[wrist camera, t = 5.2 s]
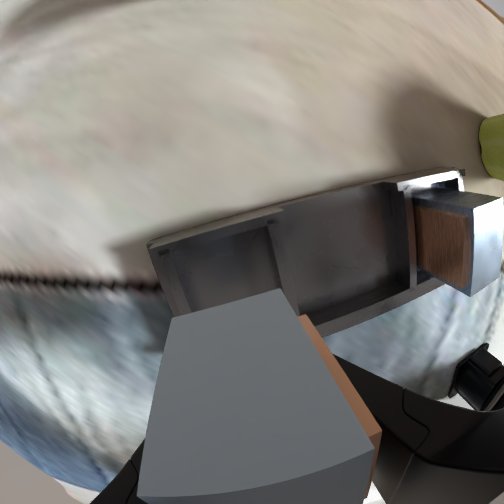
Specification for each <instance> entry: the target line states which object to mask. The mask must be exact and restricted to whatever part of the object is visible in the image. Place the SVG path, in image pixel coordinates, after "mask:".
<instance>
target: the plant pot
mask: <svg viewBox="0 0 504 504" xmlns="http://www.w3.org/2000/svg"><path fill="white" fill-rule="evenodd" d="M479 142H480V144H481V147H482V154H481V158H482V161H483V164H484V166H485V169H486V170H487V172H488V173H489V174H490V176H492V177H493V178H496V179H498V180H502V181H504V114H502V115H497V116H493V117H489V118H486V119H484V120H483V122H482V124H481V126H480V131H479Z"/></svg>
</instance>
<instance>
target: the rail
mask: <svg viewBox="0 0 504 504" xmlns="http://www.w3.org/2000/svg"><path fill="white" fill-rule="evenodd" d="M463 176H465V169H459V168H454V167H440V168H435V169H430V170H424V171H419V172H414V173H409V174H404V175H399V176H394V177H389V178H385V179H380V180H375V181H371V182H366V183H362V184H357V185H353V186H348V187H344V188H340V189H336V190H331V191H327V192H323V193H319V194H315V195H311V196H307V197H303V198H299V199H295V200H291V201H287V202H283V203H279V204H275V205H271V206H268V207H264V208H260V209H256V210H253V211H249V212H245V213H242V214H238V215H234V216H231V217H227V218H224V219H220V220H217V221H213V222H210V223H206V224H203V225H199V226H196V227H193V228H189V229H186V230H183V231H179V232H176V233H173V234H170V235H166V236H163V237H160V238H157V239H153V240H151V241H150V242H149V243H148V244H147V248H148V251H149V254H150V257H151V260H152V263H153V265H154V268H155V271H156V273H157V276H158V279H159V281H160V284H161V287H162V289H163V292H164V294H165V297H166V299H167V302H168V304H169V307H170V309H171V312H172V314H173V316H174V317H177V316H181V315H185V314H189V313H193V312H197V311H201V310H204V309H208V308H212V307H216V306H219V305H223V304H226V303H230V302H234V301H237V300H241V299H244V298H248V297H251V296H255V295H258V294H262V293H265V292H268V291H272V290H275V289H279V288H280V289H281V290H282V292H283V294H284V295H285V297H286V299H287V300H288V302H289V304H290V305H291V307H292V309H293V310H294V312H295V314H296V315H297V317H298V316H301V315H305V314H306V315H307V316H308V318H309V319H310V321H311V322H312V324H313V325H314V327H315V328H316V330H317V331H318V333H319V334H320V336H321V337H322V338H323V337H325V336H328V335H331V334H334V333H336V332H339V331H342V330H344V329H347V328H349V327H352V326H354V325H357V324H359V323H362V322H364V321H367V320H369V319H372V318H374V317H376V316H379V315H381V314H383V313H386V312H388V311H390V310H392V309H395V308H397V307H399V306H401V305H403V304H406V303H408V302H410V301H412V300H414V299H416V298H418V297H420V296H422V295H424V294H426V293H428V292H430V291H432V290H434V289H436V288H438V287H440V286H442V285H444V284H448V285H449V286H451V287H453V288H455V289H457V290H458V291H460V292H462V293H464V294H466V295H467V296H469V297H471V296H473V295H474V294H476V293H477V292H479V291H480V290H482V289H483V288H485V287H486V286H487V285H489V284H490V283H492V282H493V281H494V280H496V279H497V278H499V277H500V268H501V258H502V243H503V198H500V197H495V196H490V195H484V194H478V193H472V192H466V191H464V186H463Z"/></svg>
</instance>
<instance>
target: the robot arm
mask: <svg viewBox="0 0 504 504" xmlns="http://www.w3.org/2000/svg"><path fill="white" fill-rule="evenodd" d="M488 347H489V344H488V343H485V344H484V345H483V346H482V347H480V348H479V349H478V350H477V351H475V352H474V353H473V354H471V355H470V356H469V357H467V358H466V359H465V360H463V361H462V362H461V363H459V365H458V366H457V368H456V372H455V376H454V379H453V382H452V386H451V389H450V392H449V395H448V397H449V398H452V397H453V396H455V395H456V394H457V393H458V394H459V395H460V396H461V397H462V398H463V399H464V400H465V401H466V402H467V403H468V404H469V405H470V406H471V407H472V408H473V409H474V410H471V409H467V408H463V407H459V406H454V405H451V404H447V403H443V402H440V401H437V400H434V399H430V398H427V397H425V396H422V395H420V394H417V393H415V392H412V391H410V390H408V389H406V388H405V389H404V390H403V387H401V386H399V385H397V384H394V383H392V382H390V381H388V380H386V379H383V378H381V377H379V376H377V375H375V374H373V373H371V372H369V371H367V370H364V369H362V368H360V367H358V366H356V365H354V364H352V363H350V362H348V361H346V360H344V359H342V358H340V357H338V356H336V355H334V354H333V356H334V357H335V359H336V360H337V362H338V363H339V365H340V366H341V368H342V369H343V371H344V372H345V374H346V375H347V377H348V378H349V380H350V382H351V383H352V385H353V386H354V388H355V389H356V391H357V392H358V394H359V395H360V397H361V398H362V400H363V401H364V403H365V405H366V406H367V408H368V409H369V411H370V412H371V414H372V415H373V417H374V418H375V420H376V422H377V423H378V425H379V426H380V428H381V429H382V435H381V441H380V446H379V451H378V456H377V460H376V465H375V469H374V473H373V477H372V481H373V483H374V485H375V486H376V488H377V490H378V491H379V493H380V494H381V496H382V498H383V499H384V501H385V503H386V504H504V366H503V365H502V362H501V361H499V360H498V359H497V358H495V357H494V356H493V355H492V354H490V353H489V352H488V351H487V350H488ZM144 443H145V439H144V440H143V442H142V443H141V444H140V446H139V447H138V448H137V450H136V451H135V452H134V454H133V455H132V457H131V460H128V462H127V463H126V464H125V466H124V467H123V468H122V469H121V471H120V472H119V473H118V474H117V476H116V477H115V478H114V479H113V480H112V481H111V482H110V483H109V485H108V486H107V487H106V488H105V489H104V490H103V491H102V492H101V493H100V494H99V495H98V496H97V497H96V498H95V499H94V500H93V501H92V502H91V503H90V504H148V503H146V502H145V501H143V500H142V499H140V498H139V497H137V490H138V482H139V475H140V468H141V461H142V455H143V449H144Z"/></svg>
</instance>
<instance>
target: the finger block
mask: <svg viewBox="0 0 504 504" xmlns="http://www.w3.org/2000/svg"><path fill="white" fill-rule="evenodd" d="M381 435H382V429H381V428H380V426H379V425H378V423H377V422H376V420H375V418H374V417H373V415H372V414H371V412H370V411H369V409H368V408H367V406H366V405H365V403H364V401H363V400H362V398H361V397H360V395H359V394H358V392H357V391H356V389H355V388H354V386H353V385H352V383H351V382H350V380H349V378H348V377H347V375H346V374H345V372H344V371H343V369H342V368H341V366H340V365H339V363H338V362H337V360H336V359H335V357H334V356H333V354H332V353H331V351H330V350H329V348H328V347H327V345H326V343H325V342H324V340H323V339H322V337H321V336H320V334H319V333H318V331H317V330H316V328H315V327H314V325H313V324H312V322H311V321H310V319H309V318H308V316H307V315H306V314H305V315H301V316H298V317H297V315H296V314H295V312H294V310H293V309H292V307H291V305H290V304H289V302H288V300H287V299H286V297H285V295H284V294H283V292H282V290H281V289H280V288H279V289H275V290H272V291H268V292H265V293H262V294H258V295H255V296H251V297H248V298H244V299H241V300H237V301H234V302H230V303H226V304H223V305H219V306H216V307H212V308H208V309H204V310H201V311H197V312H193V313H189V314H185V315H181V316H177V317H173V318H172V320H171V324H170V327H169V331H168V335H167V339H166V343H165V347H164V351H163V356H162V360H161V364H160V369H159V373H158V377H157V382H156V386H155V391H154V396H153V401H152V406H151V411H150V416H149V421H148V426H147V432H146V437H145V443H144V449H143V455H142V461H141V468H140V475H139V482H138V490H137V497H139V498H140V499H142V500H143V501H145V502H146V503H148V504H363V500H364V499H365V498H367V496H368V492H369V489H370V485H371V481H372V477H373V473H374V469H375V465H376V460H377V456H378V451H379V446H380V441H381Z"/></svg>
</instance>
